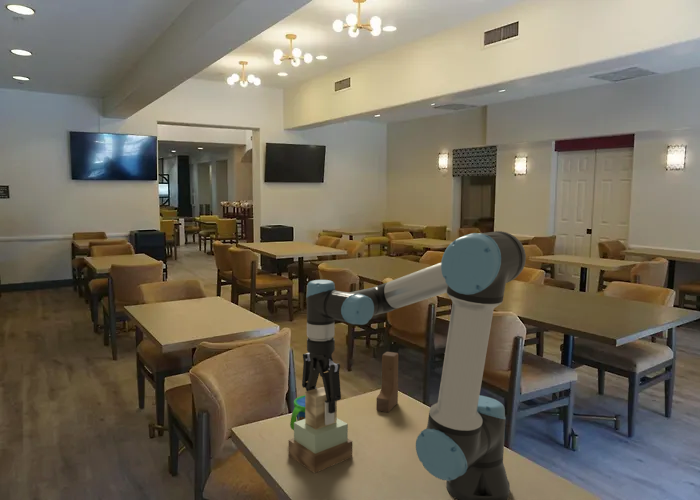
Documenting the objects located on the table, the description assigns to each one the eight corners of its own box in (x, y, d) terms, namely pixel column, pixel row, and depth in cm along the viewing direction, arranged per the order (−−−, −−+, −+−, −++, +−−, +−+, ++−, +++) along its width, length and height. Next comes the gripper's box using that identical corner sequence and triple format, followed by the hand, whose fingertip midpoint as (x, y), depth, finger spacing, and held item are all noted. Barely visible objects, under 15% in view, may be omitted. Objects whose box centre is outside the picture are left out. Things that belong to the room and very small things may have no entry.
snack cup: (319, 419, 168) (319, 389, 167) (342, 430, 161) (342, 398, 160) (280, 435, 157) (279, 402, 156) (302, 447, 150) (301, 413, 149)
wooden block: (388, 413, 174) (389, 360, 172) (375, 410, 176) (376, 358, 174) (398, 403, 182) (398, 352, 180) (386, 401, 184) (386, 351, 182)
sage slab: (347, 441, 144) (347, 423, 144) (315, 453, 137) (315, 435, 137) (325, 428, 152) (325, 412, 152) (294, 439, 145) (293, 422, 145)
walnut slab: (352, 458, 145) (352, 441, 144) (314, 474, 136) (314, 456, 136) (325, 442, 154) (325, 426, 153) (288, 457, 145) (288, 440, 145)
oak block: (336, 422, 145) (336, 391, 144) (315, 429, 140) (316, 397, 139) (325, 416, 148) (325, 385, 147) (305, 423, 144) (305, 391, 143)
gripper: (355, 342, 137) (354, 427, 139) (310, 327, 152) (310, 404, 154) (332, 348, 132) (332, 435, 134) (288, 332, 147) (289, 410, 149)
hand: (320, 418), depth 144 cm, fingers open, 7 cm apart
